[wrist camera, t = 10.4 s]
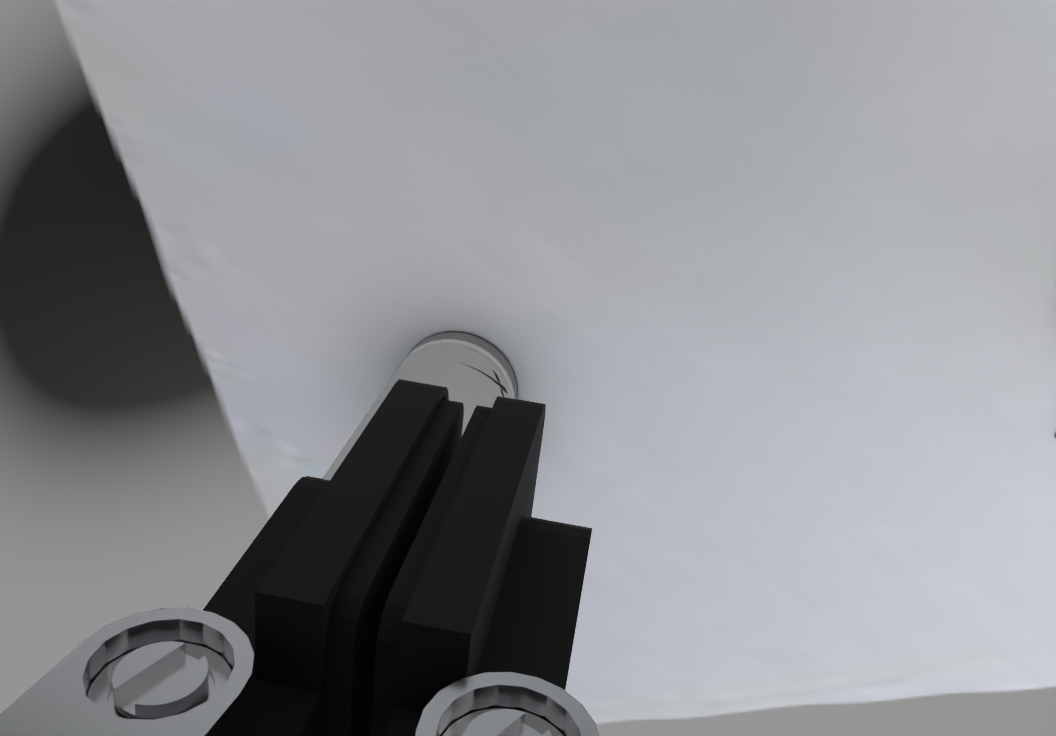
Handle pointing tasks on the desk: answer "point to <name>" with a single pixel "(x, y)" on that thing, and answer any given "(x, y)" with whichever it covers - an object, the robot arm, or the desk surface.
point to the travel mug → (449, 377)
